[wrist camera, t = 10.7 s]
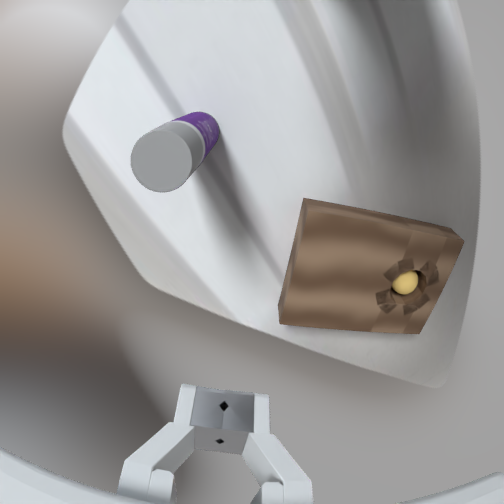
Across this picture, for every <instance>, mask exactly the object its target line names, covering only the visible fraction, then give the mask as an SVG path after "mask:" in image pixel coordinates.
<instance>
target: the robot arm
mask: <svg viewBox="0 0 504 504" xmlns="http://www.w3.org/2000/svg"><path fill="white" fill-rule="evenodd" d="M269 403H270V402H269V395H268V394H259V393H252V392H241V391H230V390H219V389H212V388H206V387H199V386H194V385H188V384H182V386H181V389H180V393H179V398H178V403H177V408H176V413H175V418H174V423H172V422H169V423H168V424H167V425H165V426H164V427H163V428H162V429H161V430H160V431H159V432H157V433H156V434H155V435H154V436H153V437H152V438H151V439H149V440H148V441H147V442H146V443H145V444H144V445H143V446H141V447H140V448H139V449H138V450H137V451H135V452H134V453H133V454H132V455H131V456H129V457H128V458H127V459H126V460H125V462H124V466H123V470H122V474H121V478H120V481H119V485H118V489H117V493H116V494H115V493H111V492H108V491H105V490H101V489H98V488H95V487H92V486H89V485H86V484H83V483H80V482H78V481H75V480H72V479H69V478H67V477H64V476H62V475H59V474H57V473H54V472H52V471H49V470H47V469H45V468H43V467H40V466H38V465H36V464H34V463H31V462H29V461H27V460H25V459H23V458H21V457H19V456H17V455H15V454H13V453H11V452H9V451H7V450H6V449H4V448H2V447H0V504H176V499H177V492H176V486H175V480H174V476H173V473H174V472H175V471H176V470H177V468H179V467H180V465H181V464H182V463H183V462H184V461H185V460H186V459H187V458H188V457H189V455H191V453H192V452H193V451H194V449H197V450H206V451H216V452H224V453H232V454H241V455H242V457H243V459H244V461H245V462H246V464H247V466H248V467H249V469H250V470H251V472H252V474H253V475H254V477H255V478H256V480H257V482H258V484H259V485H260V487H261V488H260V489H259V491H258V493H257V494H256V495H255V497H254V498H253V500H252V502H251V504H313V493H312V482H311V480H310V479H309V478H308V476H307V475H306V474H305V473H304V472H303V470H302V469H301V468H300V467H299V465H298V464H297V463H296V461H295V460H294V459H293V458H292V456H291V455H290V454H289V453H288V451H287V450H286V449H285V448H284V446H283V445H282V443H281V442H280V441H279V440H278V438H277V437H276V436H275V435H274V434H270V404H269ZM396 504H504V474H503V473H501V472H496V473H492V474H490V475H487V476H485V477H482V478H480V479H477V480H475V481H472V482H469V483H467V484H464V485H461V486H458V487H455V488H452V489H449V490H445V491H442V492H439V493H436V494H432V495H428V496H425V497H421V498H417V499H413V500H409V501H405V502H400V503H396Z"/></svg>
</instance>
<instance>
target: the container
mask: <svg viewBox="0 0 504 504" xmlns="http://www.w3.org/2000/svg"><path fill="white" fill-rule="evenodd" d="M218 137H219V126H218V124H217V122H216V120H215V119H214V118H213V117H212V116H211V115H209V114H207V113H204V112H193V113H190V114H188V115H185V116H182V117H180V118H177V119H175V120H172V121H170V122H167V123H165V124H163V125H161V126H159V127H158V128H156V129H154V130H152V131H150V132H148V133H146V134H145V135H143V136H142V137H141V138H140V139H139V140H138V141H137V142H136V144H135V145H134V147H133V150H132V153H131V167H132V171H133V173H134V175H135V177H136V179H137V180H138V181H139V182H140V183H141V184H142V185H143V186H144V187H146V188H147V189H149V190H152V191H155V192H169V191H173V190H175V189H177V188H179V187H180V186H181V185H183V184H184V183H185V181H186V180H187V179H188V178H189V177H190V176H191V174H192V173H193V172H194V171H195V170H196V168H197V167H198V166H199V165H200V164H201V162H202V161H203V160H204V158H205V157H206V156H207V154H208V153H209V151H210V150H211V149H212V147H213V146H214V145H215V143H216V142H217V140H218Z"/></svg>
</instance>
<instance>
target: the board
mask: <svg viewBox="0 0 504 504" xmlns="http://www.w3.org/2000/svg"><path fill="white" fill-rule="evenodd" d="M463 244H464V240H463V239H461V238H460V237H459V236H458V235H457V234H456V233H455V232H454V231H453V230H452V229H451V228H447V227H443V226H439V225H435V224H430V223H426V222H422V221H417V220H413V219H408V218H404V217H399V216H395V215H390V214H385V213H380V212H376V211H371V210H366V209H361V208H356V207H350V206H345V205H340V204H334V203H329V202H323V201H318V200H312V199H306V198H303V202H302V207H301V211H300V216H299V220H298V225H297V229H296V233H295V238H294V242H293V246H292V250H291V255H290V259H289V263H288V267H287V271H286V275H285V279H284V283H283V288H282V292H281V296H280V300H279V304H278V311H279V323H280V324H284V325H293V326H304V327H314V328H326V329H338V330H352V331H367V332H384V333H405V334H420V332H421V330H422V328H423V326H424V325H425V323H426V321H427V319H428V317H429V315H430V314H431V312H432V310H433V308H434V306H435V304H436V302H437V300H438V298H439V296H440V294H441V292H442V290H443V288H444V286H445V284H446V282H447V280H448V278H449V276H450V274H451V271H452V269H453V267H454V265H455V262H456V260H457V258H458V256H459V253H460V251H461V249H462V246H463ZM409 270H415V271H416V273H417V275H418V284H417V286H416V288H415V289H414V291H412V292H411V293H409V294H399V293H397V292H396V291H395V290H394V289H393V288H392V287H391V286H392V284H393V281H394V280H395V279H396V278H397V277H398V276H399V275H401V274H402V273H404V272H407V271H409Z"/></svg>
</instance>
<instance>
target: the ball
mask: <svg viewBox="0 0 504 504" xmlns="http://www.w3.org/2000/svg"><path fill="white" fill-rule="evenodd" d="M417 284H418V275H417V273H416V271H415V270H409V271H407V272H404V273H402V274H401V275H399V276H398V277H397V278H396V279H395V280H394V281H393V284H392V288H393V289H394V290H395V291H396V292H397V293H399V294H409V293H411V292H412V291H414V289H415V288H416V286H417Z"/></svg>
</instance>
